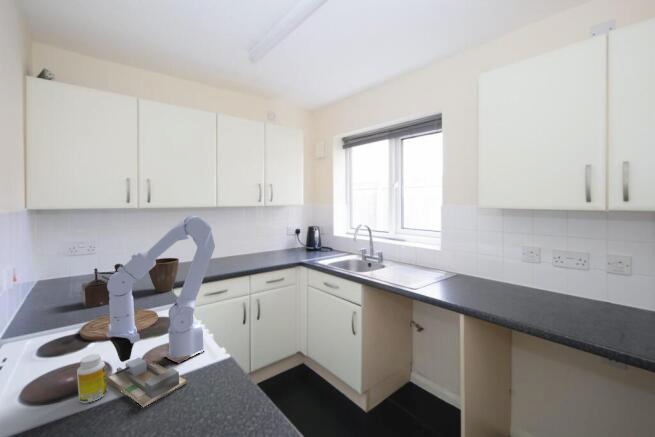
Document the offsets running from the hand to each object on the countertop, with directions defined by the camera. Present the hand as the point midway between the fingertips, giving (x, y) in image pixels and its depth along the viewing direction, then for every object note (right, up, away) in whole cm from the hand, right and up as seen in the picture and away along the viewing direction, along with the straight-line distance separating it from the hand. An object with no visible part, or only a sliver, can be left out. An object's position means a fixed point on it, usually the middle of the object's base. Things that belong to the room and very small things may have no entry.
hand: (125, 359), depth 89 cm
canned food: (-58, +2, +77) cm, 96 cm away
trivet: (-21, -1, +30) cm, 37 cm away
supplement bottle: (0, -4, -12) cm, 13 cm away
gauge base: (+10, -3, -6) cm, 12 cm away
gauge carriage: (+5, -2, -5) cm, 7 cm away
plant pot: (-28, +3, +74) cm, 79 cm away
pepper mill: (-47, +1, +57) cm, 74 cm away
